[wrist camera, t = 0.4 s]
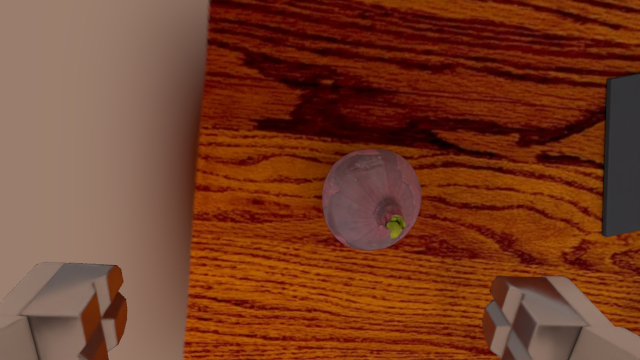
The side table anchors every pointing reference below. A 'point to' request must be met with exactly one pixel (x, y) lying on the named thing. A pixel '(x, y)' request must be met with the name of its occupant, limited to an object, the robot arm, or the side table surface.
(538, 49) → the side table surface
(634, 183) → the mat
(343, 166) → the vegetable
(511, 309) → the robot arm
